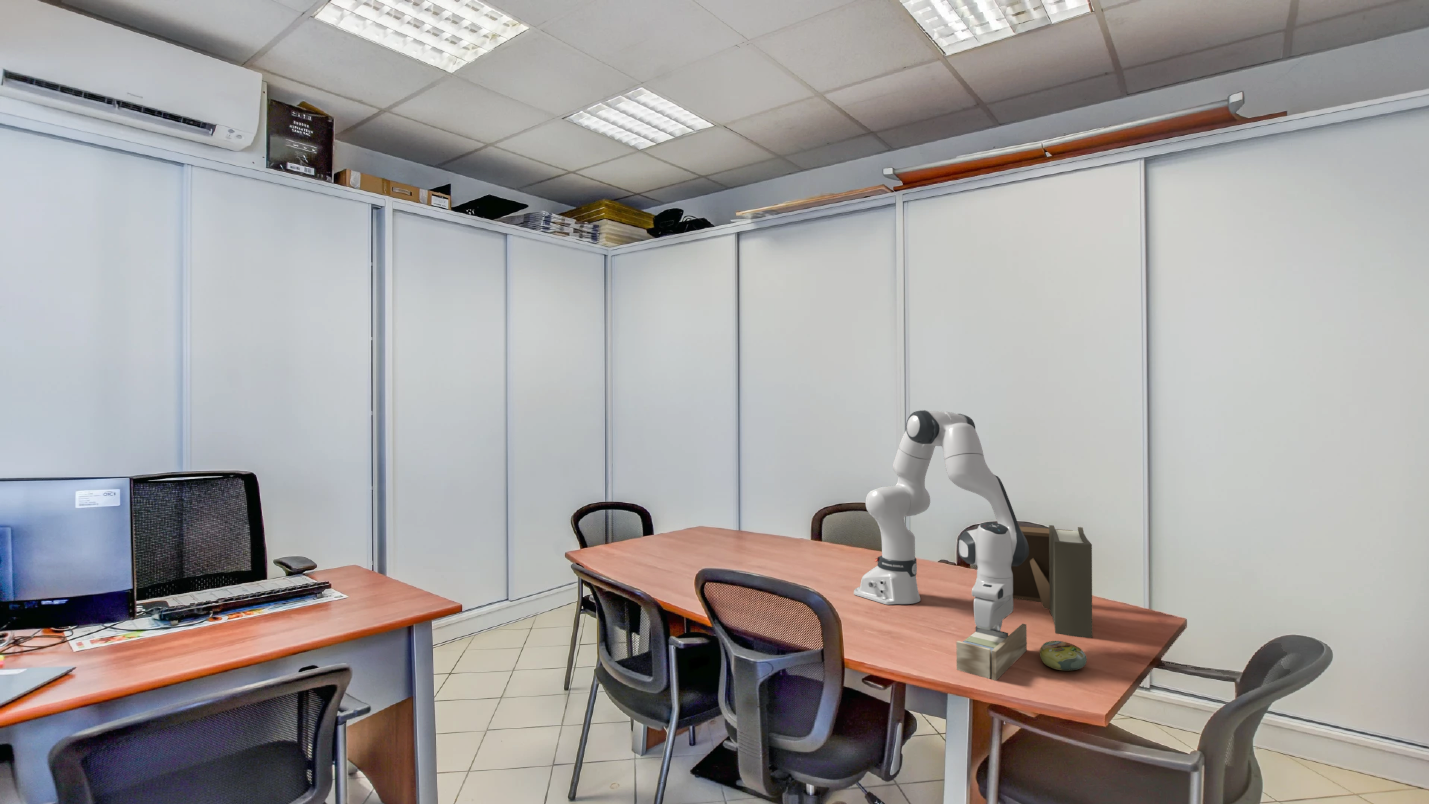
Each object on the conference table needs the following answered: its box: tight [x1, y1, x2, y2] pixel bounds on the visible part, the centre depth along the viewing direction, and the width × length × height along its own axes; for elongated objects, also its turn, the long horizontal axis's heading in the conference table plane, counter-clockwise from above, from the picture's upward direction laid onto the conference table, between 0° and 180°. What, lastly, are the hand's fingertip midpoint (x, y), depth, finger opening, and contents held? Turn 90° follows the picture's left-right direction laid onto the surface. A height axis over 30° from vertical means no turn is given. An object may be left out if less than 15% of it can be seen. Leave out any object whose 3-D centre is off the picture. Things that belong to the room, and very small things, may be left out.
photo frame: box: [1011, 525, 1074, 610], centre depth 208 cm, size 15×22×25 cm
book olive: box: [963, 635, 1000, 648], centre depth 159 cm, size 8×4×6 cm, turn 48°
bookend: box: [975, 625, 1009, 639], centre depth 166 cm, size 8×7×7 cm
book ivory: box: [970, 631, 1004, 643], centre depth 162 cm, size 8×4×6 cm, turn 48°
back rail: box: [956, 623, 1028, 682], centre depth 163 cm, size 10×25×7 cm, turn 138°
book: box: [1048, 524, 1093, 639], centre depth 188 cm, size 22×9×28 cm, turn 156°
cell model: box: [1039, 640, 1088, 672], centre depth 159 cm, size 10×8×14 cm
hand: (995, 637), depth 166 cm, fingers closed
